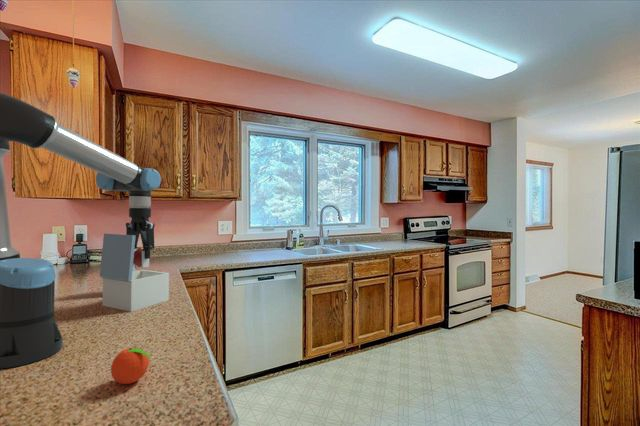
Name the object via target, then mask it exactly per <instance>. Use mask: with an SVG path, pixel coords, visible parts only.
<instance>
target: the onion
mask: <svg viewBox="0 0 640 426" xmlns="http://www.w3.org/2000/svg"><path fill="white" fill-rule="evenodd" d="M142 249H143V246H139V247H138V248H137V250H136V251H135V252H134V259H133V263H134V264H135V265H137V266H136V267H138V268H142Z"/></svg>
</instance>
